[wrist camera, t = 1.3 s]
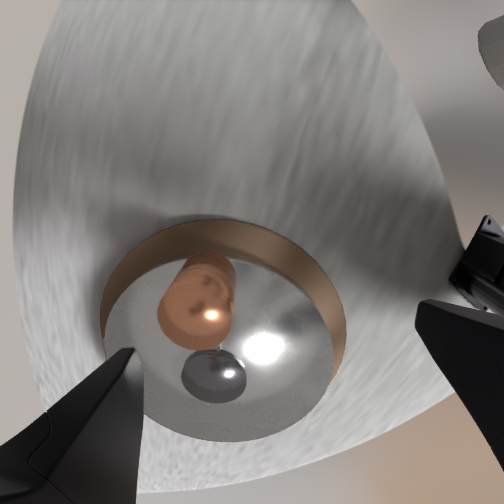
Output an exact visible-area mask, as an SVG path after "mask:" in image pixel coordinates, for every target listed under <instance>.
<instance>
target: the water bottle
mask: <svg viewBox="0 0 504 504" xmlns="http://www.w3.org/2000/svg"><path fill="white" fill-rule="evenodd" d="M478 42H479V52H480V53H481V56H482V58H483V61H484V63H485V66H486V68H487V70H488V72H489V73H490V75H491V76H492V77H493V79H494V80H495V82H496V83H497V85H498V86H500V87H501V88H502V89H503V90H504V15H503V16H501V17H498V18H496V19H494V20H491V21H489V22H487V23H485V24H484V25H483V27H482V28H481V29H480V30H479V33H478Z"/></svg>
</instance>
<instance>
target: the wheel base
mask: <svg viewBox="0 0 504 504" xmlns="http://www.w3.org/2000/svg"><path fill="white" fill-rule="evenodd" d="M201 251H213V252H221V253H231V254H236V255H241V256H246V257H249V258H252V259H255V260H258V261H261V262H264V263H266V264H268V265H270V266H272V267H274V268H276V269H278V270H280V271H281V272H283V273H284V274H286V275H287V276H289V277H291V278H292V279H293V280H294V281H295V282H296V283H298V284H299V285H300V286H301V287H302V288H303V289H304V290H305V291H306V292H307V293H308V294H309V296H310V297H311V298H312V299H313V301H314V302H315V304H316V305H317V307H318V309H319V310H320V312H321V314H322V317H323V319H324V321H325V324H326V326H327V328H328V331H329V333H330V336H331V340H332V344H333V351H334V365H333V372H332V376H331V379H330V382H331V381H332V379H333V378H334V376H335V375H336V373H337V370H338V368H339V366H340V364H341V361H342V358H343V354H344V350H345V344H346V320H345V315H344V311H343V306H342V304H341V301H340V299H339V296H338V294H337V292H336V290H335V288H334V286H333V285H332V283H331V281H330V280H329V278H328V276H327V275H326V273H325V272H324V271H323V270H322V268H321V267H320V266H319V265H318V263H317V262H316V261H315V260H314V259H313V258H312V257H311V256H310V255H309V254H307V253H306V252H305V251H304V250H303V249H302V248H300V247H299V246H298V245H296V244H295V243H293V242H292V241H290V240H289V239H287V238H285V237H283V236H281V235H279V234H277V233H275V232H273V231H271V230H268V229H266V228H263V227H260V226H257V225H254V224H249V223H244V222H239V221H234V220H219V219H212V220H198V221H192V222H187V223H183V224H178V225H176V226H173V227H170V228H168V229H165V230H162V231H160V232H159V233H157V234H155V235H153V236H151V237H149V238H148V239H146V240H145V241H144V242H142V243H141V244H140V245H139V246H137V247H136V248H135V249H133V250H132V251H131V252H130V253H129V254H128V255H127V256H126V257H125V258H124V259H123V260H122V261H121V262H120V263H119V265H118V266H117V268H116V269H115V271H114V272H113V274H112V275H111V277H110V279H109V281H108V284H107V286H106V288H105V291H104V295H103V298H102V302H101V312H100V325H101V333H102V338H103V339H102V341H103V344H104V337H105V328H106V324H107V320H108V317H109V314H110V312H111V310H112V308H113V306H114V304H115V303H116V301H117V300H118V299H119V297H120V296H121V294H122V293H123V292H124V291H125V290H126V289H127V288H128V287H129V286H130V285H131V284H132V283H133V282H134V281H135V280H136V279H137V278H138V277H139V276H140V275H141V274H143V273H144V272H145V271H147V270H148V269H149V268H151V267H153V266H155V265H157V264H159V263H161V262H163V261H165V260H168V259H171V258H174V257H177V256H181V255H186V254H191V253H198V252H201ZM104 348H105V344H104ZM329 384H330V383H329Z"/></svg>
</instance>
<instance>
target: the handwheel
mask: <svg viewBox="0 0 504 504" xmlns="http://www.w3.org/2000/svg"><path fill="white" fill-rule="evenodd" d="M104 344H105V354H106V358H107V360H108V359H109V358H110V357H111V356H113V355H114V354H115V353H116V352H117V351H119V350H120V349H121V348H129V347H134V348H135V349H136V350H137V352H138V355H139V359H140V362H141V365H142V368H143V371H144V414H145V415H146V416H148V417H149V418H150V419H152V420H154V421H155V422H157V423H158V424H160V425H162V426H164V427H166V428H168V429H170V430H172V431H175V432H177V433H180V434H183V435H186V436H189V437H193V438H197V439H202V440H207V441H216V442H240V441H249V440H254V439H259V438H263V437H266V436H270V435H273V434H275V433H278V432H280V431H282V430H284V429H286V428H288V427H290V426H292V425H293V424H295V423H296V422H298V421H299V420H301V419H302V418H303V417H305V416H306V415H307V414H308V413H309V412H310V411H311V410H312V409H313V408H314V407H315V406H316V405H317V403H318V402H319V401H320V399H321V398H322V396H323V395H324V393H325V391H326V389H327V387H328V385H329V383H330V379H331V376H332V372H333V365H334V351H333V344H332V340H331V336H330V333H329V331H328V328H327V326H326V324H325V321H324V319H323V317H322V314H321V312H320V310H319V309H318V307H317V305H316V304H315V302H314V301H313V299H312V298H311V297H310V296H309V294H308V293H307V292H306V291H305V290H304V289H303V288H302V287H301V286H300V285H299V284H298V283H296V282H295V281H294V280H293V279H292V278H291V277H289V276H287V275H286V274H284V273H283V272H281V271H280V270H278V269H276V268H274V267H272V266H270V265H268V264H266V263H264V262H261V261H258V260H255V259H252V258H249V257H246V256H241V255H236V254H231V253H221V252H213V251H201V252H198V253H191V254H186V255H181V256H177V257H174V258H171V259H168V260H165V261H163V262H161V263H159V264H157V265H155V266H153V267H151V268H149V269H148V270H147V271H145V272H144V273H143V274H141V275H140V276H139V277H138V278H137V279H136V280H135V281H134V282H133V283H132V284H131V285H130V286H129V287H128V288H127V289H126V290H125V291H124V292H123V293H122V294H121V296H120V297H119V299H118V300H117V301H116V303H115V304H114V306H113V308H112V310H111V312H110V314H109V317H108V320H107V324H106V328H105V337H104Z"/></svg>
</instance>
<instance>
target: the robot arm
mask: <svg viewBox="0 0 504 504" xmlns="http://www.w3.org/2000/svg"><path fill="white" fill-rule="evenodd" d="M487 221H488V223H487ZM455 278H456V280H455ZM454 280H455V281H454ZM449 283H450V284H451V285H452V286H453V287H454V288H456V289H457V290H458V291H459V292H460V293H461V294H463V295H464V296H465V297H466V298H467V299H468V300H469V301H471V302H472V303H473V304H474V305H475V306H476V307H477V308H478V309H479V310H476V309H471V308H467V307H463V306H458V305H454V304H449V303H445V302H441V301H436V300H432V299H427V300H424V301H421V302H420V303H419V304H418V308H417V313H416V318H415V329H416V331H417V332H418V334H419V336H420V337H421V339H422V341H423V342H424V344H425V346H426V347H427V349H428V351H429V353H430V354H431V356H432V358H433V359H434V361H435V363H436V364H437V366H438V367H439V368H440V370H441V371H442V373H443V374H444V375H445V377H446V378H447V380H448V381H449V383H450V384H451V386H452V387H453V389H454V390H455V392H456V393H457V395H458V396H459V398H460V399H461V401H462V402H463V404H464V405H465V407H466V408H467V410H468V411H469V413H470V415H471V416H472V418H473V419H474V421H475V422H476V424H477V426H478V427H479V429H480V431H481V432H482V434H483V436H484V437H485V439H486V441H487V442H488V444H489V446H490V447H491V449H492V451H493V453H494V455H495V457H496V458H497V460H498V462H499V464H500V466H501V467H502V469H503V471H504V232H503V230H502V229H501V228H500V227H499V225H498V224H497V223H496V222H495V220H494V219H493V218H492V217H491V216H489V215H485V216H484V217H483V219H482V221H481V223H480V226H479V227H478V229H477V231H476V233H475V235H474V237H473V238H472V240H471V242H470V244H469V246H468V247H467V249H466V251H465V253H464V254H463V256H462V258H461V260H460V261H459V263H458V265H457V266H456V268H455V270H454V271H453V273H452V274H451V276H450V278H449ZM488 309H490V310H491V311H492V312H494V313H495V314H493V313H489V312H486V311H487V310H488ZM480 310H481V311H480ZM143 418H144V371H143V368H142V365H141V362H140V359H139V355H138V352H137V350H136V349H135V348H134V347H129V348H121V349H120V350H119V351H117V352H116V353H115V354H114V355H113V356H111V357H110V358H109V359H108V360H107V361H105V362H104V363H103V364H102V365H101V366H99V367H98V368H97V369H96V370H95V371H93V372H92V373H91V374H90V375H89V376H87V377H86V378H85V379H84V380H83V381H81V382H80V383H79V384H78V385H77V386H75V387H74V388H73V389H72V390H71V391H69V392H68V393H67V394H66V395H65V396H64V397H62V398H61V399H60V400H59V401H58V402H56V403H55V404H54V405H53V406H52V407H50V408H49V409H48V410H47V412H44V413H43V414H42V415H41V416H40V417H39V418H37V419H36V420H35V421H34V422H33V423H31V424H30V425H29V426H28V427H26V428H25V429H24V430H22V431H21V432H20V433H18V434H17V435H16V436H14V437H13V438H11V439H10V440H8V441H7V442H6V443H4V444H3V445H1V446H0V504H136V491H137V478H138V467H139V456H140V447H141V438H142V430H143Z"/></svg>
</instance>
